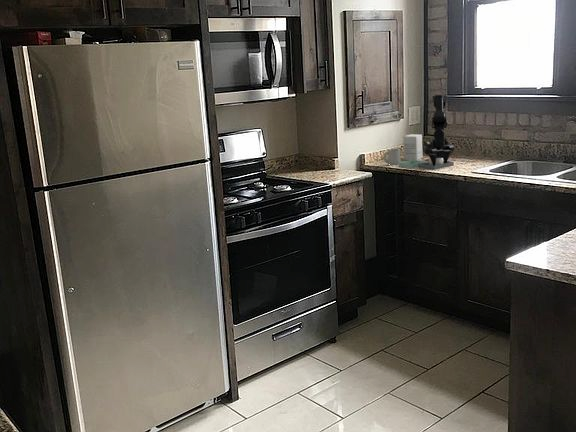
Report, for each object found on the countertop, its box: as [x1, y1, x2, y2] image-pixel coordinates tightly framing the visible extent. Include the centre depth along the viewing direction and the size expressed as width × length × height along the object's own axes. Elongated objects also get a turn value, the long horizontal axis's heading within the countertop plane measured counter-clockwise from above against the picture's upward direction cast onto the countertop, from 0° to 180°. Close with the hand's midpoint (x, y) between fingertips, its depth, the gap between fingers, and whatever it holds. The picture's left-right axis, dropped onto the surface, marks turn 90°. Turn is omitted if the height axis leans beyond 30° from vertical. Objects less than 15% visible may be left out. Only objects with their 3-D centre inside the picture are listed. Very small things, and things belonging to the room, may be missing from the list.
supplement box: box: [402, 133, 424, 161], centre depth 393 cm, size 9×9×15 cm
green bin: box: [398, 159, 427, 169], centre depth 368 cm, size 11×11×3 cm
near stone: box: [436, 158, 444, 165], centre depth 359 cm, size 4×4×5 cm
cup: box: [383, 148, 401, 166], centre depth 379 cm, size 7×10×9 cm
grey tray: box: [418, 160, 454, 171], centre depth 362 cm, size 16×12×2 cm
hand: (439, 164), depth 359 cm, fingers open, 9 cm apart
